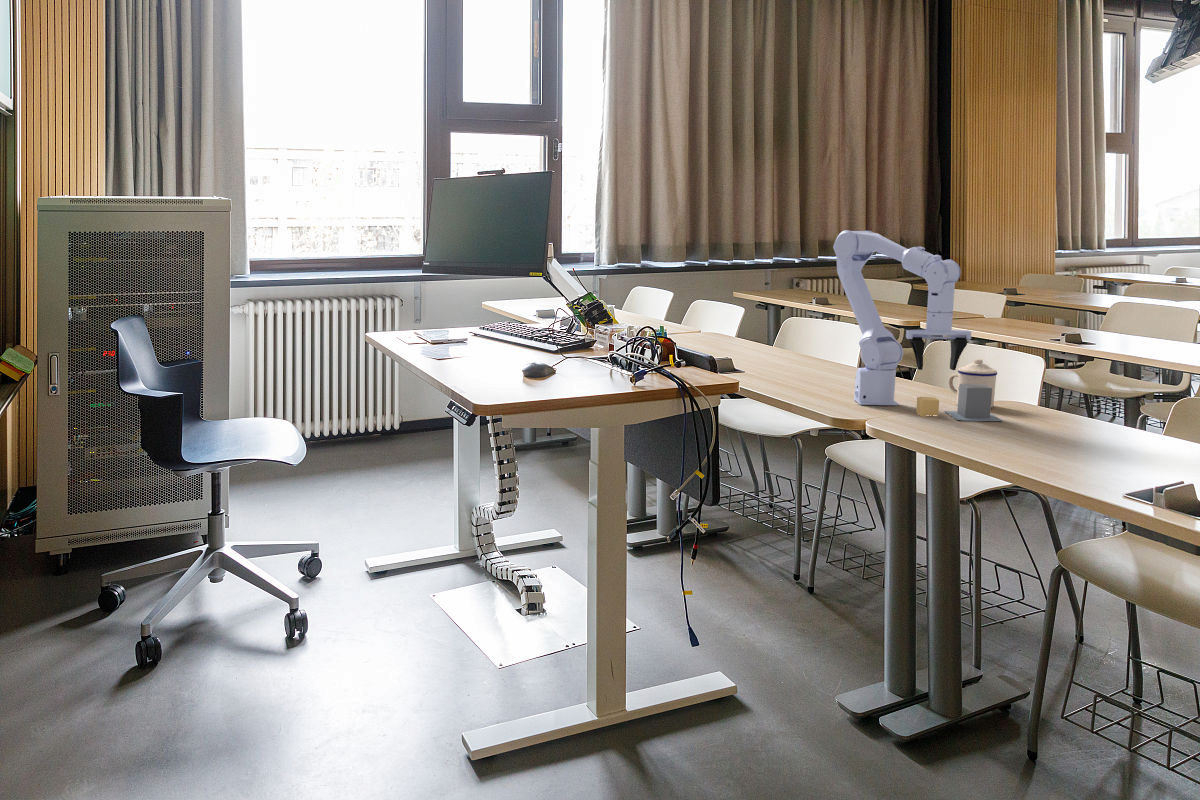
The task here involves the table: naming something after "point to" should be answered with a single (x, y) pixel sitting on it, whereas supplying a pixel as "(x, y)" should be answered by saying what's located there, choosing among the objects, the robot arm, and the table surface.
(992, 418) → the slate mat
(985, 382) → the teacup with lid
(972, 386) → the blue-gray cube on pad
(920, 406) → the ochre cube
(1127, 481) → the table surface
